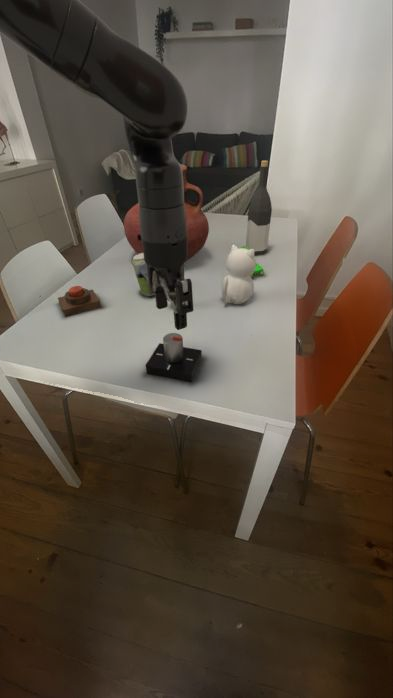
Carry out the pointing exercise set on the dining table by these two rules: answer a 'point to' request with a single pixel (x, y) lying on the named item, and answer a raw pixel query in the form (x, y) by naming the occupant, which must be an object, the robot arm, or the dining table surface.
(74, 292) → the button
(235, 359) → the dining table surface
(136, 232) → the clay pot
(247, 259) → the cat figurine
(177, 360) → the hob knob
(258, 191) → the wine bottle
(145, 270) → the beverage can
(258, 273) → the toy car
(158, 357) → the panel
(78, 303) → the button block
